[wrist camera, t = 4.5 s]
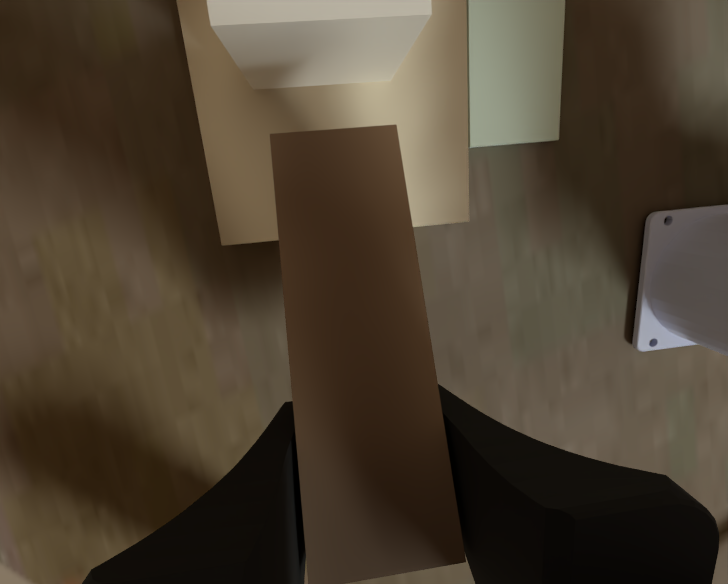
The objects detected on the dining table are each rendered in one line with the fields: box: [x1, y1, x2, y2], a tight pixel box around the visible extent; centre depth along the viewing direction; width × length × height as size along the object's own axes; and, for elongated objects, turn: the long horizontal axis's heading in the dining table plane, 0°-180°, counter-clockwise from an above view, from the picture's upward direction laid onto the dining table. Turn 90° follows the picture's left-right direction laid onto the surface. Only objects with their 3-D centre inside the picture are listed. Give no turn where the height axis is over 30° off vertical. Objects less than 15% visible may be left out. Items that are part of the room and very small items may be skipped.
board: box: [176, 0, 469, 246], centre depth 16 cm, size 12×17×1 cm
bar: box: [270, 124, 466, 584], centre depth 12 cm, size 4×11×6 cm, turn 5°
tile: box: [207, 0, 432, 90], centre depth 13 cm, size 6×2×6 cm, turn 95°
